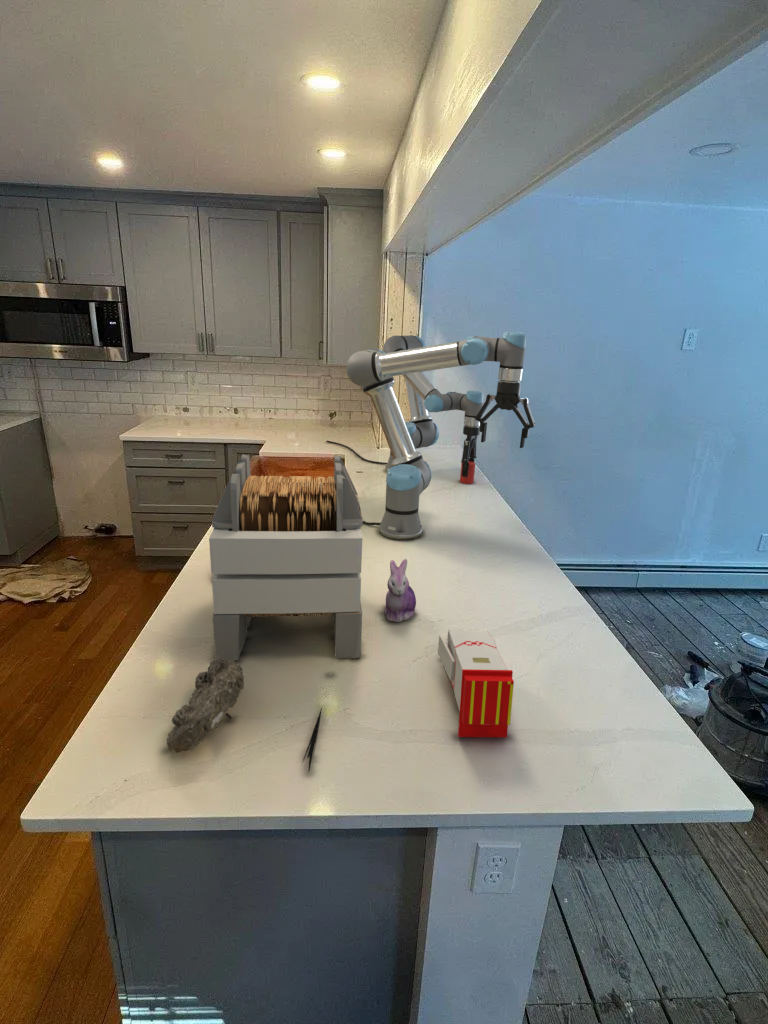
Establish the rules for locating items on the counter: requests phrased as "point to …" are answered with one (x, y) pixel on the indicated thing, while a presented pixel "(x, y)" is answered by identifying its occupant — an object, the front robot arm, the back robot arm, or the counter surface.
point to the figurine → (399, 594)
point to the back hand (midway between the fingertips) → (467, 474)
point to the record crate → (286, 555)
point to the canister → (470, 474)
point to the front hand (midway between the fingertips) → (502, 444)
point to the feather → (313, 740)
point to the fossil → (206, 705)
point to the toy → (478, 682)
